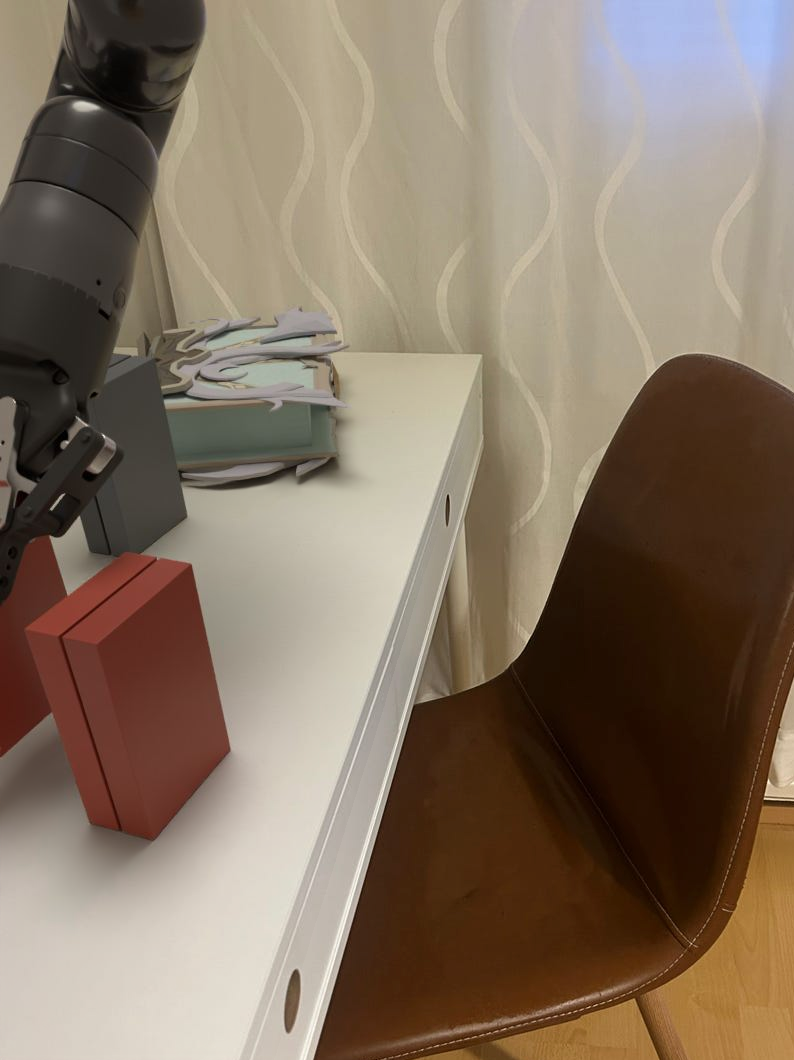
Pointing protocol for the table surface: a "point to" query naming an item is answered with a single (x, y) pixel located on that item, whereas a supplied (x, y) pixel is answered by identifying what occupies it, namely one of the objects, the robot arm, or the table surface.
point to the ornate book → (249, 394)
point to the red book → (25, 641)
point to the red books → (133, 691)
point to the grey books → (134, 462)
